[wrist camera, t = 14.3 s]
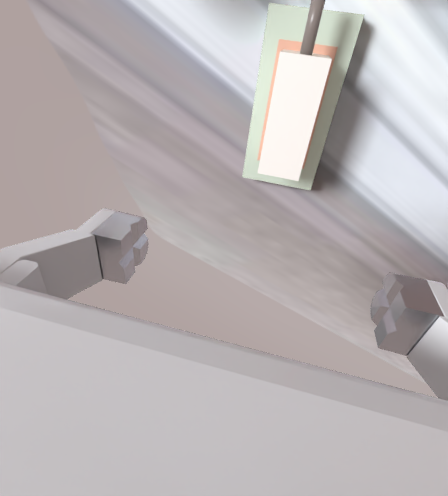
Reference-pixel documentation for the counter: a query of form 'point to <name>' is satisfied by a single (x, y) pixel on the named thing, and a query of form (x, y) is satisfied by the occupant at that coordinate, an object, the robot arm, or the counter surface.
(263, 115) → the green peg board
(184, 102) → the counter surface
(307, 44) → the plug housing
